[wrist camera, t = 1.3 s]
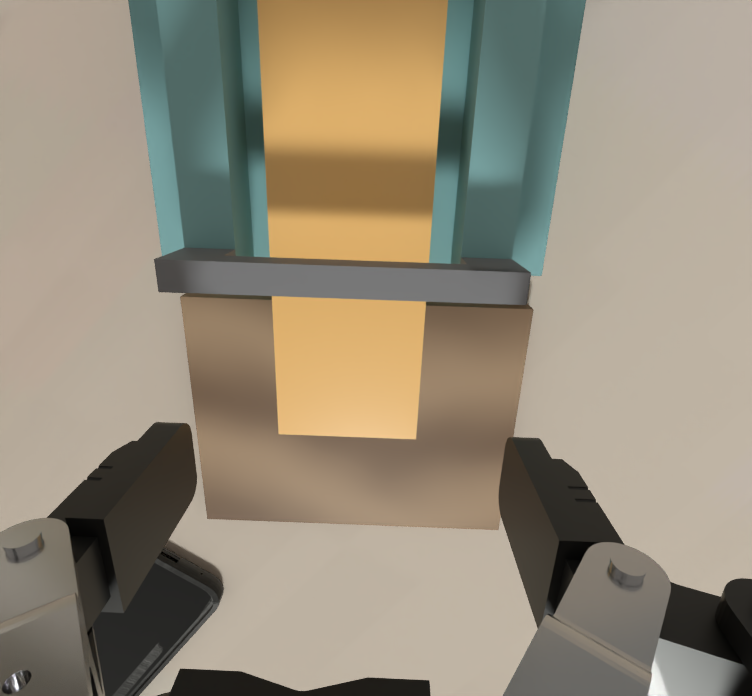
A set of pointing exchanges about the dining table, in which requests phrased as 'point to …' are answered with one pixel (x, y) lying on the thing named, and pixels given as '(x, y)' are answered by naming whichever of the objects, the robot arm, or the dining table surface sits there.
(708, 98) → the dining table surface
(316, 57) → the ticket card
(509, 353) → the walnut mat
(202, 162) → the ticket dispenser
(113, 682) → the phone
